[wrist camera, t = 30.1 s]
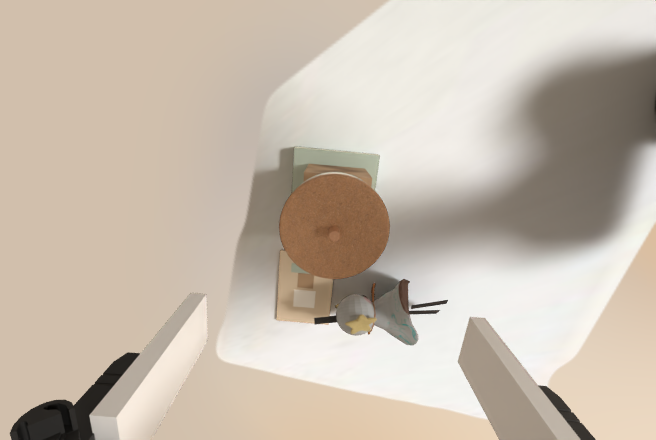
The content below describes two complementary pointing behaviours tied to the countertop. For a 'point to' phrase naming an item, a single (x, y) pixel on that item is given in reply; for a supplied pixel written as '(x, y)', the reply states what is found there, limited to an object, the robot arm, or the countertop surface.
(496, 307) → the countertop surface
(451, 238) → the countertop surface
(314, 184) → the lidded jar
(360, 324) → the decorative toy
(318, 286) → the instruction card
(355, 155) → the base plate
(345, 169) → the walnut cube
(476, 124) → the countertop surface
